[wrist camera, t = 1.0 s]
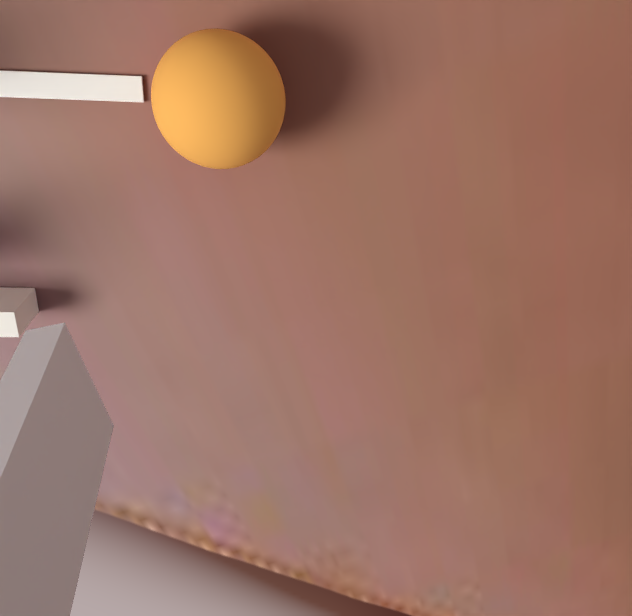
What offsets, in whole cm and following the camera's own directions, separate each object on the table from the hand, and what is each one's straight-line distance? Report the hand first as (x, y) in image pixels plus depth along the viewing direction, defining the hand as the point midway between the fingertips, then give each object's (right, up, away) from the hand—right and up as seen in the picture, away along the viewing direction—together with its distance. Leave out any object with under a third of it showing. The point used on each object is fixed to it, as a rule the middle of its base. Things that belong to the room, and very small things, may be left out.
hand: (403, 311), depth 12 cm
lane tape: (-15, +11, +17) cm, 26 cm away
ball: (-6, +9, +15) cm, 19 cm away
